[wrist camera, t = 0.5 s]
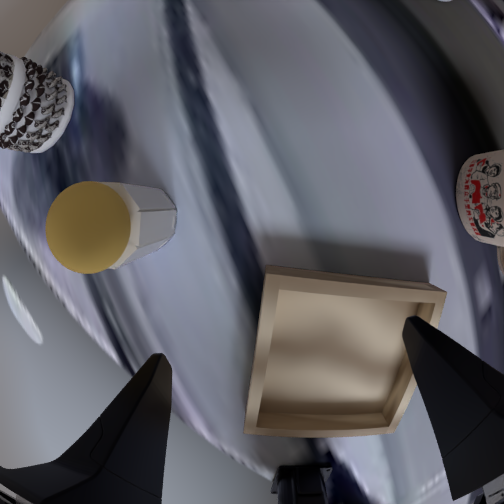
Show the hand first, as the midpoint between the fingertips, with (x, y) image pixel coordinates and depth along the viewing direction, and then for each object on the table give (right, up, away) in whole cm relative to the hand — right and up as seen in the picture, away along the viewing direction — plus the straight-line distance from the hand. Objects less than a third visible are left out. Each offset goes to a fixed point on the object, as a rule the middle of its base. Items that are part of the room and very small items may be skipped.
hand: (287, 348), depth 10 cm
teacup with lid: (+22, +7, +11) cm, 26 cm away
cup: (-10, +6, +13) cm, 17 cm away
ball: (-10, +5, +4) cm, 12 cm away
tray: (+6, -6, +14) cm, 16 cm away
